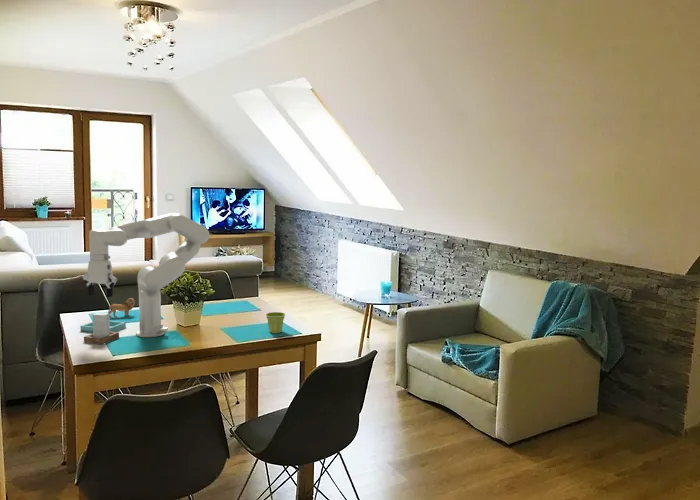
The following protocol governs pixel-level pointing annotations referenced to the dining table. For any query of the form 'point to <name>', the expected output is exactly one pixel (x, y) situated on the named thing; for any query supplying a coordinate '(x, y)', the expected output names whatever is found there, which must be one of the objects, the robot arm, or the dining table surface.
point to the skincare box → (101, 325)
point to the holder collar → (101, 340)
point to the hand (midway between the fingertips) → (100, 295)
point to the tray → (113, 326)
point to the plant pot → (275, 321)
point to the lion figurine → (122, 307)
